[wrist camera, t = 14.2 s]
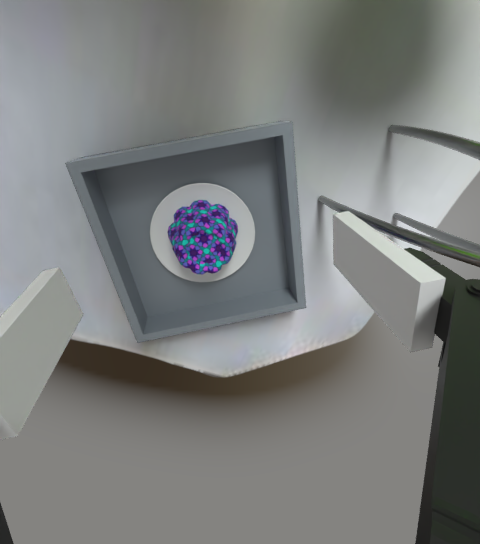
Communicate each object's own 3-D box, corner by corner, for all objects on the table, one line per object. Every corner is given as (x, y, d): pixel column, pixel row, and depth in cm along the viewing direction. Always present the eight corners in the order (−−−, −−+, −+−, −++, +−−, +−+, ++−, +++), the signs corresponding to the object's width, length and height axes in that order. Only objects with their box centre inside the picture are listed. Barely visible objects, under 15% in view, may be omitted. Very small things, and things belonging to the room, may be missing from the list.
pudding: (274, 222, 37) (285, 237, 32) (215, 295, 40) (218, 318, 36) (188, 158, 32) (187, 165, 28) (131, 246, 36) (121, 265, 31)
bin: (81, 157, 32) (65, 163, 28) (280, 121, 33) (292, 121, 29) (143, 321, 41) (137, 342, 37) (295, 289, 42) (306, 307, 38)
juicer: (394, 124, 34) (1080, 146, 8) (398, 217, 39) (819, 424, 13) (309, 151, 34) (695, 266, 8) (324, 240, 40) (589, 493, 13)
